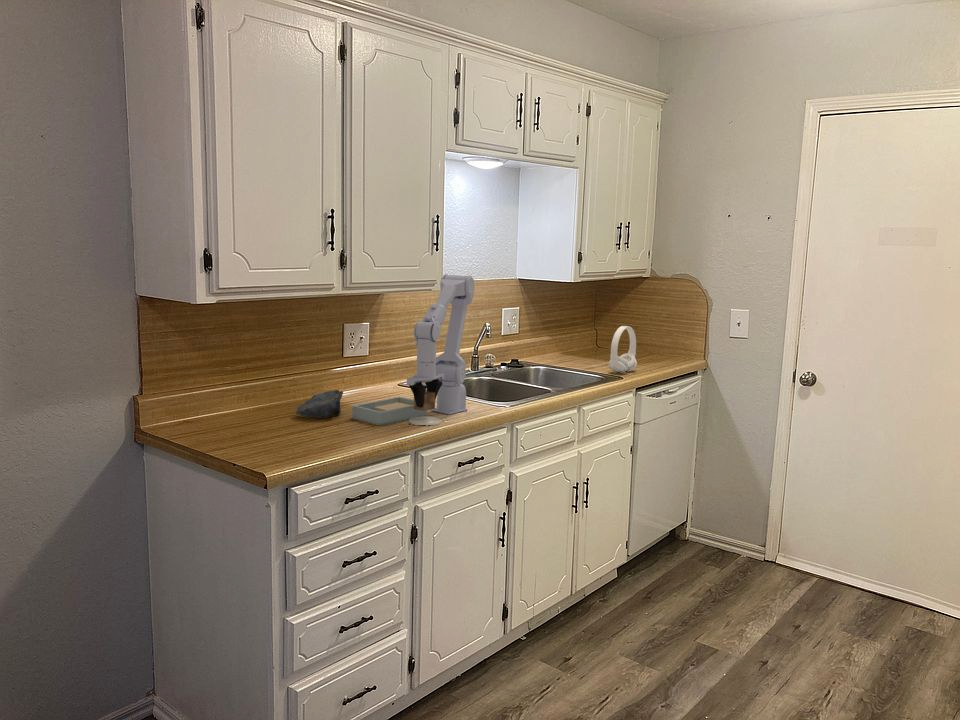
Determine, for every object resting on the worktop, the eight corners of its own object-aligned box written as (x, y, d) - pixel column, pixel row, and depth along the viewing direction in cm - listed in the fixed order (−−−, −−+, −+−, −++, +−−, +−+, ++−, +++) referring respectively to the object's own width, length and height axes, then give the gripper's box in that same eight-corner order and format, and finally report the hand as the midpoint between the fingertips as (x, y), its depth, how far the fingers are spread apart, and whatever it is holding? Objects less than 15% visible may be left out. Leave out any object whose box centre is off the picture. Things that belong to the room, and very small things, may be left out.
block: (424, 406, 239) (424, 390, 238) (434, 408, 236) (434, 392, 235) (413, 408, 235) (413, 392, 235) (424, 410, 232) (424, 394, 232)
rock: (352, 419, 237) (348, 405, 246) (344, 396, 234) (340, 383, 243) (304, 437, 235) (301, 422, 244) (294, 414, 231) (292, 400, 240)
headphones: (639, 370, 340) (642, 325, 337) (620, 376, 325) (623, 328, 322) (623, 368, 344) (626, 323, 341) (603, 373, 330) (606, 327, 326)
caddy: (399, 408, 253) (399, 396, 252) (426, 415, 245) (427, 402, 244) (352, 418, 237) (352, 405, 237) (380, 425, 230) (380, 412, 229)
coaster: (424, 416, 243) (424, 414, 243) (448, 422, 237) (448, 420, 237) (401, 421, 235) (401, 419, 235) (425, 427, 229) (425, 425, 229)
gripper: (433, 357, 241) (432, 400, 243) (399, 362, 230) (398, 407, 232) (450, 360, 237) (448, 403, 239) (416, 365, 226) (416, 410, 228)
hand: (425, 405), depth 235 cm, fingers closed on block, 4 cm apart
